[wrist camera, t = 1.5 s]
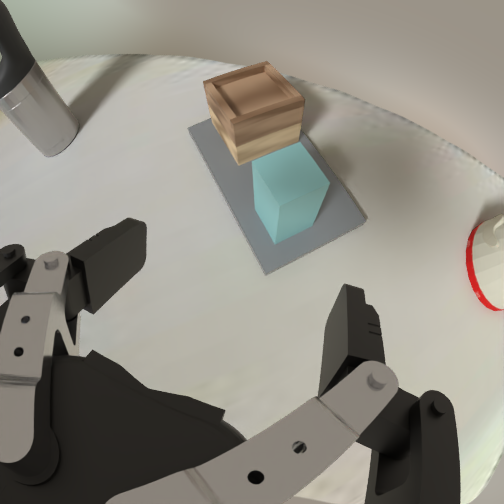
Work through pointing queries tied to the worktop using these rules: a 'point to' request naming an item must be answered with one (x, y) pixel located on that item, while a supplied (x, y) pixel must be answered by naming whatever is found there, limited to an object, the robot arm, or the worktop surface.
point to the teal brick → (288, 191)
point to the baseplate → (243, 207)
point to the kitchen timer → (487, 262)
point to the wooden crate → (254, 110)
